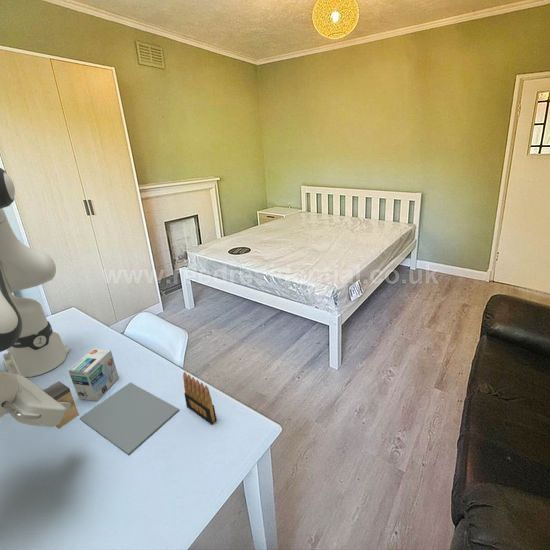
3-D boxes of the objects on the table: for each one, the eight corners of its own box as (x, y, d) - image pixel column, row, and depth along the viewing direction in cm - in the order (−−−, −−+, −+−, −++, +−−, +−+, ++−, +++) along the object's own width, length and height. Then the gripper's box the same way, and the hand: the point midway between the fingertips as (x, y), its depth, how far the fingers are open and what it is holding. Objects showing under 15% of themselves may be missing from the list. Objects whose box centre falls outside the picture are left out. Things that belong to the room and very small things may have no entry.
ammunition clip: (217, 420, 87) (211, 384, 82) (211, 424, 85) (205, 389, 81) (191, 402, 93) (185, 368, 88) (186, 406, 92) (179, 372, 87)
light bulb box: (97, 402, 95) (87, 372, 91) (77, 399, 97) (66, 370, 93) (120, 377, 105) (111, 349, 101) (102, 375, 106) (92, 347, 102)
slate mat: (79, 419, 90) (79, 417, 89) (130, 383, 102) (130, 382, 102) (128, 455, 78) (128, 453, 78) (179, 410, 91) (179, 409, 90)
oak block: (49, 420, 74) (37, 393, 71) (69, 407, 78) (59, 381, 75) (58, 429, 72) (47, 401, 69) (79, 415, 75) (69, 388, 72)
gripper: (26, 398, 58) (94, 404, 69) (-18, 362, 68) (47, 372, 80) (6, 435, 56) (78, 435, 68) (-36, 392, 67) (33, 398, 78)
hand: (61, 401), depth 74 cm, fingers closed on oak block, 4 cm apart
